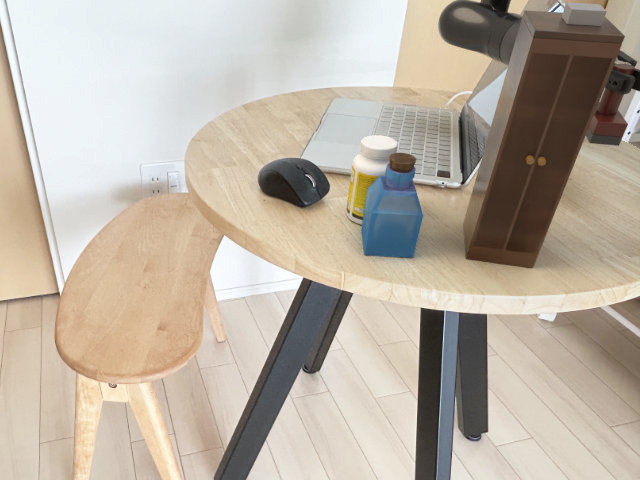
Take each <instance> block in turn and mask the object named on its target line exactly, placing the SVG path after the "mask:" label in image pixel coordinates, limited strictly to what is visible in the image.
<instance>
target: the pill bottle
mask: <svg viewBox="0 0 640 480" xmlns="http://www.w3.org/2000/svg"><path fill="white" fill-rule="evenodd" d="M398 146H399V144H398V141H397V140H396V139H394V138H392V137H390V136H386V135H381V134H380V135H379V134H374V135H373V134H372V135H368V136H365V137H363V138H362V139H361V141H360V146H359V153H358V154H357V155H355V157H354V158H353V160H352V164H351V170H350V171H351V172H350V178H349V179H350V180H349V186H348V195H347V202H346V210H345V211H346V216H347V217H348V218H349V220H350V221H352V222H353V223H355V224H357V225H359V226H362V222H363V215H364V209H365V203H366V196H367V190H368V188H369V187H370V186H371V185H372V184H373V183H374V182H375V180H376V179H377V178H378V177H379V176H386V175H385V172H386V166H387V164H389V163H390V161H389V156H390V155H391V154H394V153H398V148H399V147H398Z"/></svg>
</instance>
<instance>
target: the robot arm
mask: <svg viewBox="0 0 640 480" xmlns="http://www.w3.org/2000/svg"><path fill="white" fill-rule="evenodd" d="M511 2H512V0H480V2H478V1H476V0H454V1H451V2H450V3H449V4H447V5H446V6H445V7H444V9H442V11H441V13H440V14H439V17H438V24H437V30H438V33H439V36H440V38H441V39H442V40H443V41H444V42H445V43H446V44H448V45H451V46H453V47H457V48H460V49H463V50H467V51H471V52H474V53H478V54H481V55H484V56H485V57H488V58H490V59H491V60H494V61H496V62H499V63H500V64H504V65H506V66H508V65H509V62H510V58H511V55H512V51H513V48H514V44H515V41H516V37H517V34H518V30H519V27H520V23H521V20H522V16H523V14H519V13H515V12H510V11H509V9H510V5H511ZM615 64H628V65H632V66H634V67H635V69H634V72H633V74H632V75H629V74H626V73H623V72H620V71H617V70H614V69H613V68H612V71H611V73H610V76H609V78H608V81H607V83H606V86H605V88H607V89H609V90H612V91H614V92H617V93H620V94H624V95H628V94H630V93H631V91H632V90H634V91H637V92H640V69H639V68H636V66H637V65H638V61H637V60H636V59H634V58H633V57H631V55H628V53H626V52H624V51H622V50H621V49H620V51H619V53H618V56H617V58H616V61H615V63H614V65H615ZM613 67H614V66H613ZM605 88H604V89H605Z"/></svg>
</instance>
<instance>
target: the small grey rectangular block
mask: <svg viewBox="0 0 640 480" xmlns="http://www.w3.org/2000/svg"><path fill="white" fill-rule="evenodd" d="M607 12H608V10H606V9H605V8H604V7H603V6H602V5H601V4H598V3H583V2H582V3H581V2H566V3H565V4H564V8H563V11H562V13H563V14H562V18H563V20H564V21H565V22H566V23H567V24H572V25H588V26H602V23H603V20H604V18H605V17H606V14H607Z"/></svg>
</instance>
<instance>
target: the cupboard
mask: <svg viewBox="0 0 640 480" xmlns="http://www.w3.org/2000/svg"><path fill="white" fill-rule="evenodd" d="M562 14H563V12H558V11H542V10H541V11H540V10H523V13H522V20H521V23H520V27H519V30H518V34H517V37H516V41H515V44H514V48H513V51H512V55H511V58H510V62H509V65H507V69H506V72H505V76H504V79H503V84H502V86H501V89H500V93H499V98H498V100H497V103H496V108H495V110H494V114H493V118H492V121H491V123H490V128H489V131H488V135H487V138H486V142H485V146H484V148H483V149H484V150H483V152H482V155H481V160H480V163H479V166H478V170H477V173H476V177H475V181H474V184H473V188H472V191H471V195H470V198H469V201H468V205H467V208H466V212H465V215H464V219H463V222H462V224H463V225H462V227H463V239H464V250H465V251H464V252H465V253H464V254H465V259H466V260H472V261H479V262H487V263H492V264H493V263H494V264H501V265H507V266H516V267H522V268H529V269H534V266H535V264H536V261H537V259H538V257H539V254H540V252H541V249H542V247H543V244H544V241H545V240H546V237H547V234H548V231H549V229H550V226H551V224H552V221H553V220H554V216H555V214H556V212H557V209H558V207H559V204H560V201H561V199H562V197H563V194H564V192H565V188H566V186H567V184H568V181H569V178H570V176H571V174H572V171H573V169H574V166H575V164H576V162H577V159H578V156H579V153H580V151H581V149H582V146H583V143H584V141H585V138H586V134H587V131H588V129H589V126H590V124H591V121H592V118H593V116H594V113H595V111H596V108H597V106H598V103H599V102H600V100H601V98H602V95H603V92H604V90H605V86H606V83H607V81H608V78H609V76H610V73H611V71H612V68H613V66H614V63H615V61H616V58H617V56H618V53H619V51H620V50H621V49H622V45H623V43H624V40H625V37H626V35H625V34H624V33H623V32H622V31H621V30H620V29H618V27H616V26H615V25H614V23H612V22H611V20H609V19H608V18H607V16H605V18H604V20H603V23H602V26H588V25H572V24H567V23H566V22H565V21H564V20H563V18H562Z"/></svg>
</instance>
